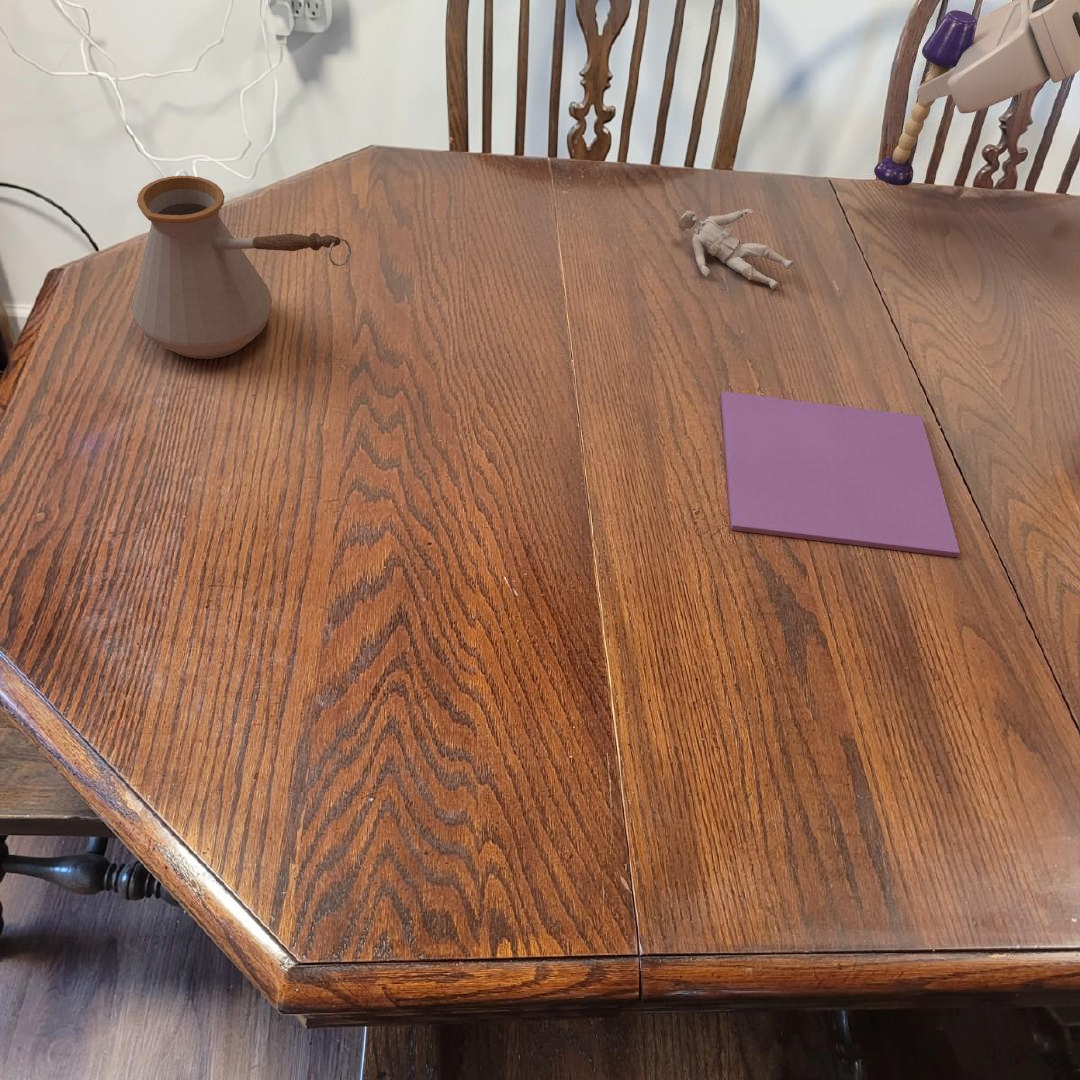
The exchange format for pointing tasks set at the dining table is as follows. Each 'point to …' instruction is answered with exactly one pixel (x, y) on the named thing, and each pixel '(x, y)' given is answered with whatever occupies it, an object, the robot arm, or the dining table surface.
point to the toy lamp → (943, 54)
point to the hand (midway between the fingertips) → (923, 89)
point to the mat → (833, 475)
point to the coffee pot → (203, 271)
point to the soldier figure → (728, 245)
